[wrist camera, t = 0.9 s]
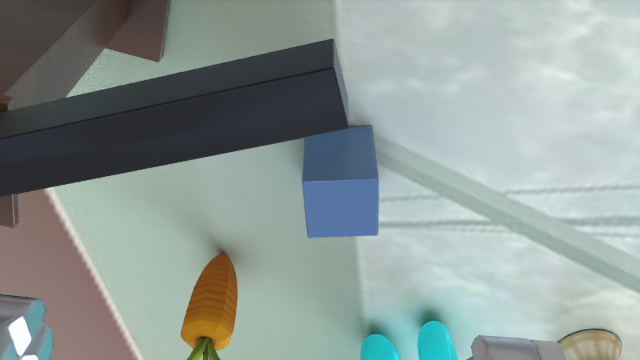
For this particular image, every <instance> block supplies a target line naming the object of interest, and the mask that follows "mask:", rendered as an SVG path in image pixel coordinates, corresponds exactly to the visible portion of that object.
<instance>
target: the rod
mask: <svg viewBox="0 0 640 360" xmlns="http://www.w3.org/2000/svg"><path fill="white" fill-rule="evenodd" d="M346 129H349V117H348V98H347V92H346V88H345V83H344V79H343V75H342V71H341V66H340V62H339V58H338V54H337V49H336V45H335V41H334V39H328V40H324V41H319V42H315V43H310V44H306V45H301V46H297V47H292V48H288V49H283V50H279V51H274V52H270V53H265V54H261V55H256V56H252V57H247V58H243V59H238V60H234V61H229V62H225V63H220V64H216V65H211V66H207V67H202V68H198V69H193V70H189V71H184V72H180V73H175V74H171V75H166V76H162V77H157V78H153V79H148V80H144V81H139V82H135V83H130V84H126V85H121V86H117V87H112V88H108V89H103V90H99V91H94V92H90V93H85V94H81V95H76V96H72V97H67V98H63V99H58V100H54V101H49V102H45V103H40V104H36V105H31V106H27V107H22V108H18V109H13V110H9V111H4V112H0V197H4V196H9V195H14V194H19V193H24V192H29V191H34V190H40V189H45V188H50V187H55V186H60V185H65V184H70V183H75V182H81V181H86V180H91V179H96V178H101V177H106V176H111V175H116V174H121V173H127V172H132V171H137V170H142V169H147V168H152V167H157V166H162V165H167V164H173V163H178V162H183V161H188V160H193V159H198V158H203V157H208V156H213V155H219V154H224V153H229V152H234V151H239V150H244V149H249V148H254V147H259V146H265V145H270V144H275V143H280V142H285V141H290V140H295V139H300V138H305V137H311V136H316V135H321V134H326V133H331V132H336V131H341V130H346Z"/></svg>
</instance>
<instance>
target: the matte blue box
mask: <svg viewBox="0 0 640 360" xmlns="http://www.w3.org/2000/svg"><path fill="white" fill-rule="evenodd" d="M302 187H303V197H304V207H305V216H306V226H307V236H308V238H314V237H343V236H372V235H378V216H379V178H378V169H377V161H376V152H375V144H374V135H373V127H372V126H352V127H349V129H346V130H341V131H336V132H331V133H326V134H321V135H316V136H311V137H305V146H304V160H303V175H302Z"/></svg>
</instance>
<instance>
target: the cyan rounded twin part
mask: <svg viewBox="0 0 640 360" xmlns="http://www.w3.org/2000/svg"><path fill="white" fill-rule="evenodd" d="M418 355H419V360H458V359H457V356H456V352H455V349H454V346H453V343H452V340H451V337H450V334H449V332H448V330H447V328H446V327H445V326H444V325H443V324H442V323H441V322H438V321H429V322H427V323H426V324H424V325H423V327H422V328H421V330H420V332H419V336H418ZM361 360H400V357H399V355H398V352H397V350H396V348H395V347H394V345H393V344H392V343H391V341H390V340H389V339H387V338H386V337H385V336H383V335H380V334H372V335H370V336H368V337H367V338H366V339H365V340H364V342H363V344H362V347H361Z"/></svg>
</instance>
